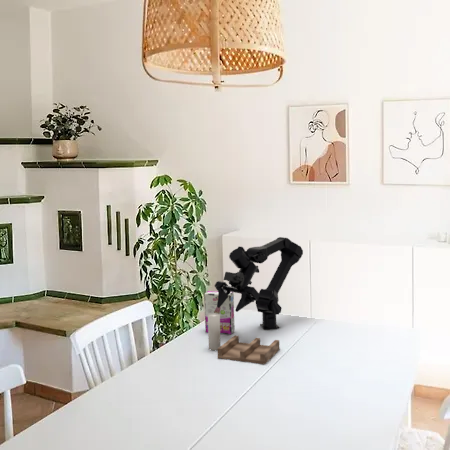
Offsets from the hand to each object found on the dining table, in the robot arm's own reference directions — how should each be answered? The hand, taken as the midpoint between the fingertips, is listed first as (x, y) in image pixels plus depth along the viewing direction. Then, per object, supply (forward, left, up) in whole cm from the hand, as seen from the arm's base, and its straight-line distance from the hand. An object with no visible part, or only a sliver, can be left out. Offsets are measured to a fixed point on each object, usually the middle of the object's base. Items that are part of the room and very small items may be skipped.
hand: (226, 309), depth 230 cm
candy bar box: (-15, 0, -14) cm, 20 cm away
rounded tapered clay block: (+4, -6, -13) cm, 15 cm away
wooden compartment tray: (+13, +5, -13) cm, 20 cm away
